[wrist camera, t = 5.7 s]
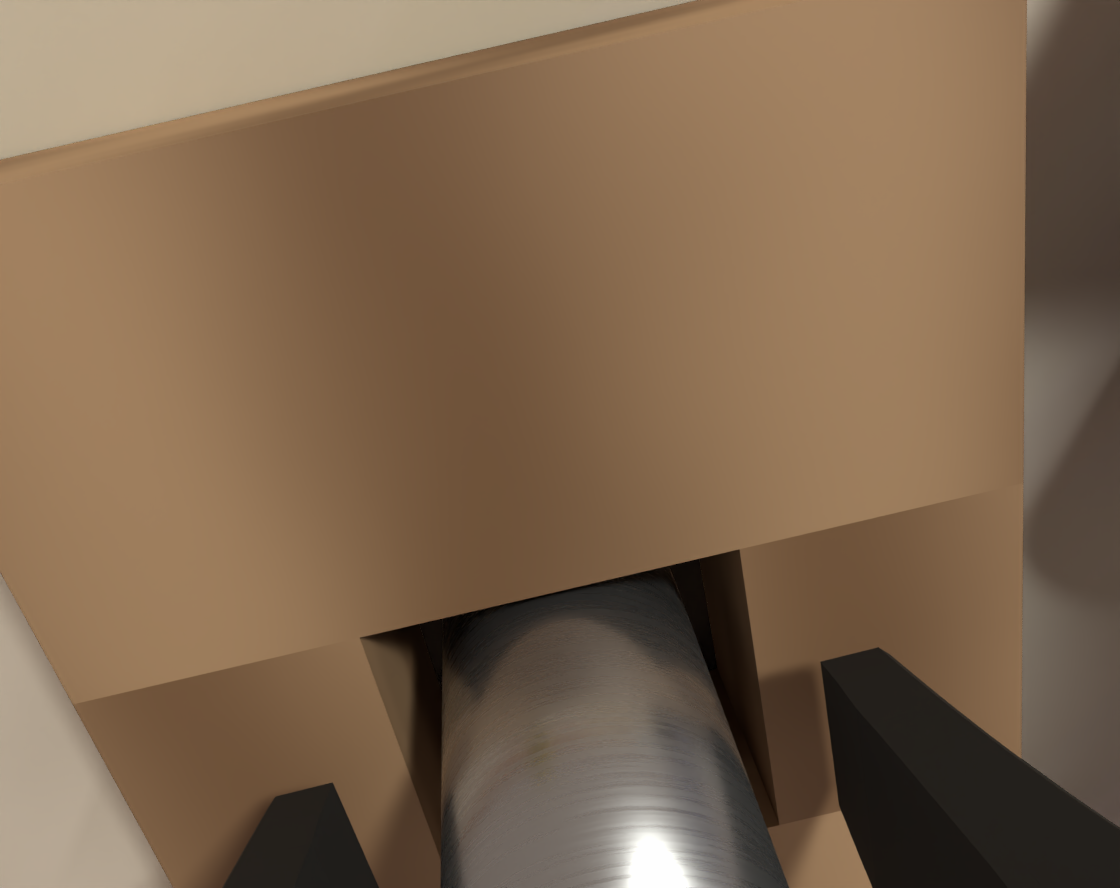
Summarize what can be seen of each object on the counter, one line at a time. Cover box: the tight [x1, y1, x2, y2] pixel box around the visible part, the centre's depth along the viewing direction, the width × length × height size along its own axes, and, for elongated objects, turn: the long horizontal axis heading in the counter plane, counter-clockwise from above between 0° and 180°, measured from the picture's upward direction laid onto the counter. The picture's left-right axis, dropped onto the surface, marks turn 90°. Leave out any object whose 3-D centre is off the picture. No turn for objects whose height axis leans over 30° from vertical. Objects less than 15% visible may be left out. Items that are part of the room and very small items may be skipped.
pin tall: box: [440, 566, 789, 888], centre depth 10 cm, size 3×3×7 cm
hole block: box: [0, 0, 1027, 888], centre depth 12 cm, size 10×14×3 cm
